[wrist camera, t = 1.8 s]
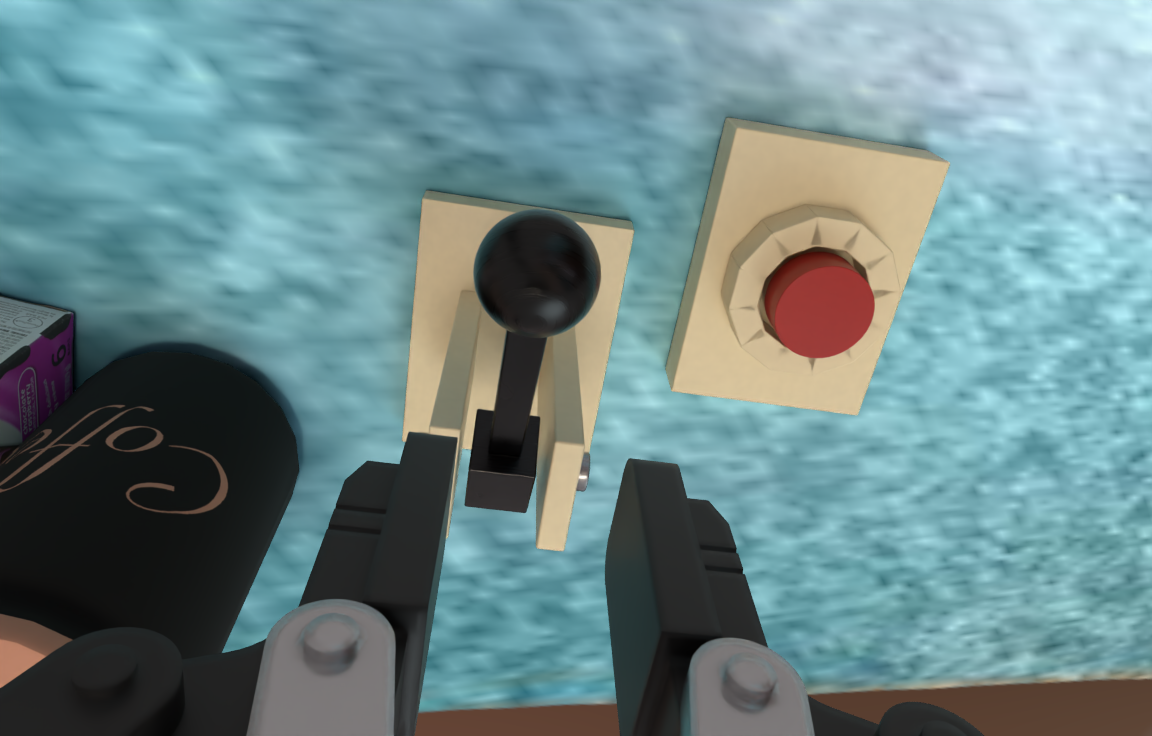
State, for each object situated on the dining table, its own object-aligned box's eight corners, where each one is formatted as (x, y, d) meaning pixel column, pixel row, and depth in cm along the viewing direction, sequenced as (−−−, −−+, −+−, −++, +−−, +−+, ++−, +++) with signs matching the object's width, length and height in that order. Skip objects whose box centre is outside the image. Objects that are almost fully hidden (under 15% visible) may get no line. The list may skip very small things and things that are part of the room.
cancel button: (779, 244, 33) (790, 259, 32) (873, 258, 34) (889, 274, 32) (753, 333, 35) (762, 351, 34) (843, 346, 36) (856, 364, 34)
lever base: (425, 189, 36) (370, 307, 24) (631, 221, 37) (671, 348, 25) (405, 427, 41) (352, 615, 30) (585, 449, 42) (601, 639, 31)
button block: (725, 116, 35) (746, 136, 31) (928, 150, 36) (971, 173, 32) (664, 369, 40) (676, 411, 36) (842, 393, 41) (871, 436, 37)
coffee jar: (313, 361, 39) (156, 653, 23) (298, 538, 44) (159, 883, 28) (74, 320, 38) (-270, 601, 22) (85, 508, 42) (-190, 852, 26)
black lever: (485, 172, 20) (469, 271, 18) (613, 192, 21) (610, 291, 19) (460, 436, 31) (448, 515, 29) (545, 446, 31) (539, 525, 29)
